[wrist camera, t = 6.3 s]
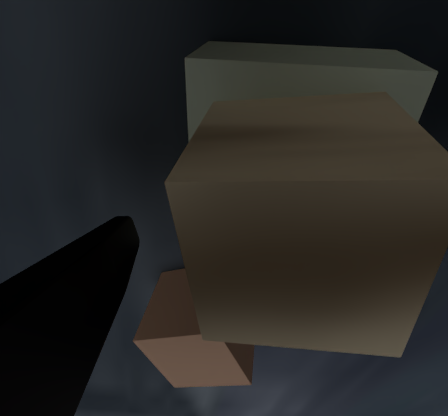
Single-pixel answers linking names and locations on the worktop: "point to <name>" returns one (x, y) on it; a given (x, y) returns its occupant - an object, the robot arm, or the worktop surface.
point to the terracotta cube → (188, 340)
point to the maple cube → (311, 221)
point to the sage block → (300, 75)
